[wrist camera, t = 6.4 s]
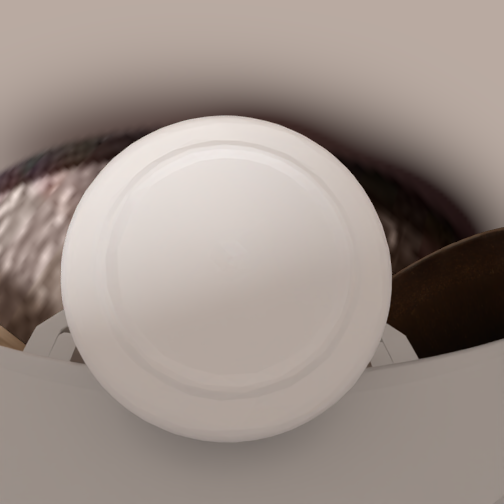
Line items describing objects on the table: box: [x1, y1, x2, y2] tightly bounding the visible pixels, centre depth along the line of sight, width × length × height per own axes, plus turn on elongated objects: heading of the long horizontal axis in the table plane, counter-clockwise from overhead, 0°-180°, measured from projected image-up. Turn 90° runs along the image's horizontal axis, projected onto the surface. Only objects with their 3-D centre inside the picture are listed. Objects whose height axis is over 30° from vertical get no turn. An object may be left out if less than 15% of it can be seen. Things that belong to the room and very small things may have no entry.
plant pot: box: [386, 227, 504, 359], centre depth 10 cm, size 15×15×16 cm
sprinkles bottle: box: [61, 116, 392, 443], centre depth 10 cm, size 5×5×14 cm
